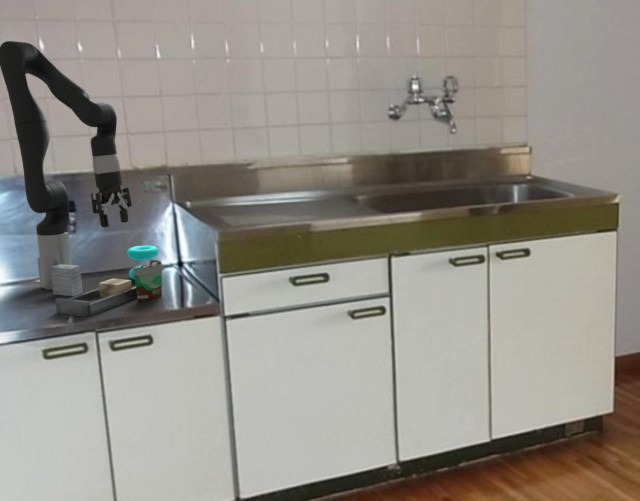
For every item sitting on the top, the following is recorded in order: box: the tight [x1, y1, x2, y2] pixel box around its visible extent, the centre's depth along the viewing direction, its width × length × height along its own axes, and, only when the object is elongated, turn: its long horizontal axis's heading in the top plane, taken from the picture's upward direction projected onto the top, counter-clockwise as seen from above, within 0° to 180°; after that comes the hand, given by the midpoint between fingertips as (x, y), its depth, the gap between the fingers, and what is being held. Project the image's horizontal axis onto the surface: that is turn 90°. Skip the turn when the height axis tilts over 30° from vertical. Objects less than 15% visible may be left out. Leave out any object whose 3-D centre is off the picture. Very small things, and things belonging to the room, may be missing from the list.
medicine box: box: [50, 264, 84, 297], centre depth 223 cm, size 8×4×9 cm, turn 65°
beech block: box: [98, 278, 133, 297], centre depth 217 cm, size 7×6×4 cm
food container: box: [133, 259, 165, 302], centre depth 217 cm, size 12×6×10 cm, turn 168°
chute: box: [55, 285, 138, 318], centre depth 212 cm, size 11×24×4 cm, turn 154°
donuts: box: [126, 244, 159, 281], centre depth 241 cm, size 10×10×10 cm
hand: (115, 224), depth 222 cm, fingers open, 8 cm apart
